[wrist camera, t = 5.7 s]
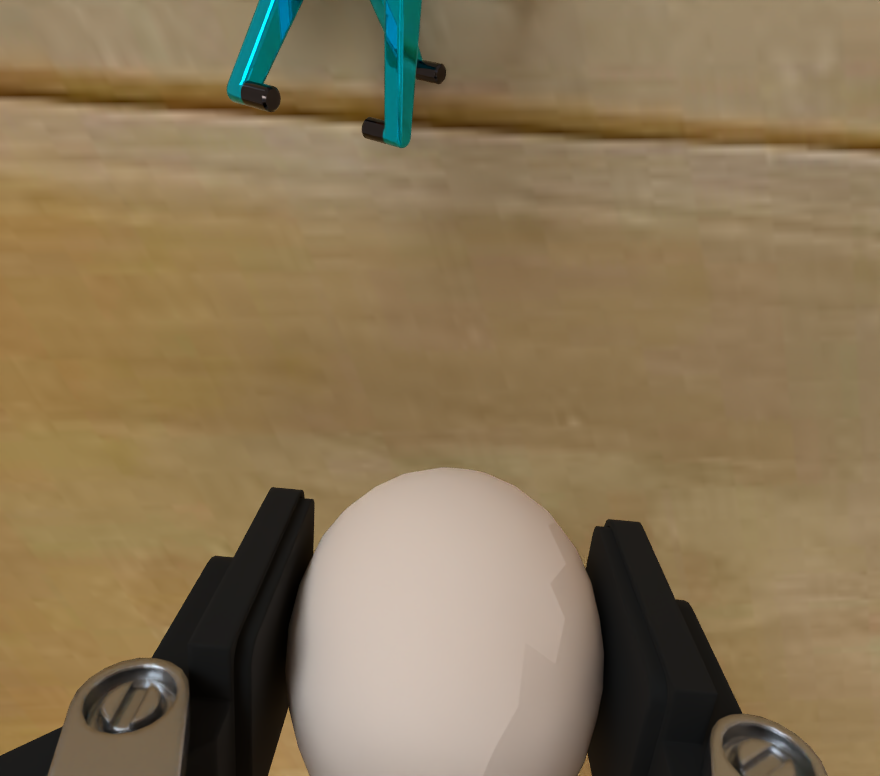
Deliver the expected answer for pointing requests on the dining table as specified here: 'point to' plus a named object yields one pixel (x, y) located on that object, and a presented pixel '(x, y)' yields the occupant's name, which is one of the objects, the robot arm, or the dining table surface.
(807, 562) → the dining table surface
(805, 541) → the dining table surface
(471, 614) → the egg
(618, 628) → the robot arm
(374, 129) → the stick construction toy
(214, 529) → the dining table surface
